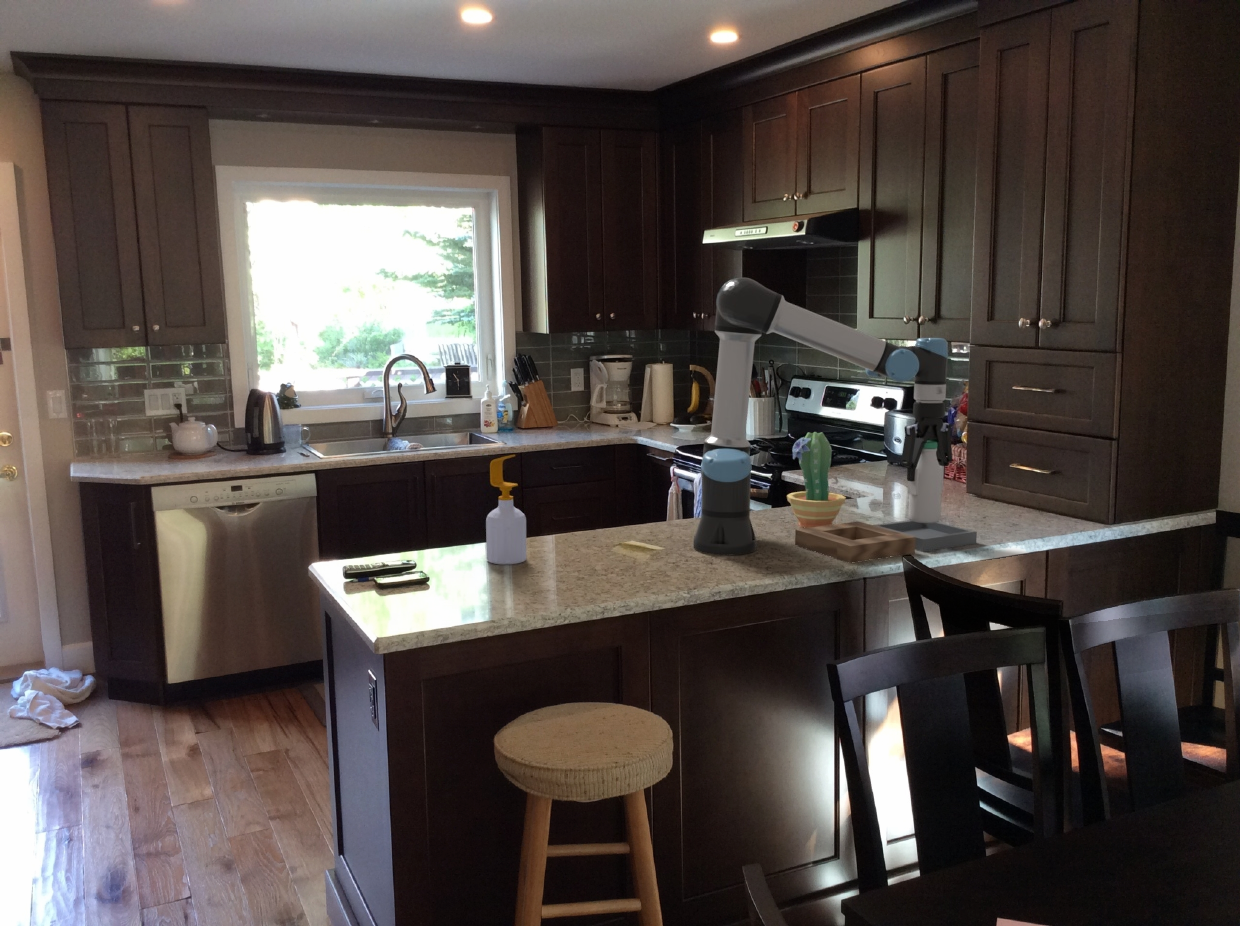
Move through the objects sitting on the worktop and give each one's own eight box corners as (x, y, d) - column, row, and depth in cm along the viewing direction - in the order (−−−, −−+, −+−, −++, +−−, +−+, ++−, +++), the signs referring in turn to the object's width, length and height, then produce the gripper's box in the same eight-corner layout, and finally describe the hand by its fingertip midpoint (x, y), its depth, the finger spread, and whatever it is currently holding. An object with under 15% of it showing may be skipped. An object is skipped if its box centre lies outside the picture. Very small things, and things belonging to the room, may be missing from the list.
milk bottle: (941, 524, 259) (945, 443, 256) (909, 523, 260) (912, 443, 257) (938, 518, 266) (942, 439, 263) (907, 516, 268) (910, 438, 265)
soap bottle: (510, 567, 236) (508, 458, 232) (478, 561, 241) (476, 455, 237) (534, 558, 244) (533, 453, 240) (503, 553, 248) (501, 450, 245)
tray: (922, 551, 252) (923, 539, 252) (870, 536, 268) (871, 525, 267) (976, 543, 261) (976, 531, 260) (922, 529, 276) (923, 518, 276)
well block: (849, 563, 241) (850, 546, 240) (795, 545, 258) (795, 529, 257) (914, 553, 250) (915, 536, 250) (857, 536, 268) (858, 521, 267)
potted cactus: (786, 518, 289) (789, 428, 286) (844, 521, 287) (847, 429, 283) (785, 530, 274) (787, 435, 271) (845, 533, 272) (849, 437, 268)
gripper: (909, 404, 251) (905, 498, 254) (971, 400, 261) (966, 491, 264) (887, 401, 257) (883, 493, 261) (948, 398, 267) (944, 486, 271)
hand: (925, 492), depth 262 cm, fingers closed on milk bottle, 8 cm apart
